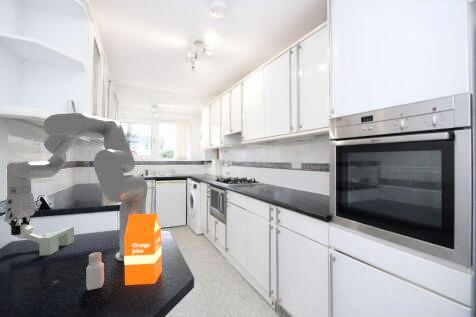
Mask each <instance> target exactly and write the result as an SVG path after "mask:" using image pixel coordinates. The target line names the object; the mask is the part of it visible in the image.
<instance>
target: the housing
mask: <svg viewBox="0 0 476 317" xmlns="http://www.w3.org/2000/svg"><path fill="white" fill-rule="evenodd" d="M49 233H50V234H48V235H46V236H44V235H42V237H41V238H39V243H38V244H39V246H38V248H39V256H52V254H55V253H56V252H58V251H59V250H60V249H59V247H64V246H69V245H71V244H73V243H75V227H74V226H65V227H62V228H60V229H58V230H55V231H54V232H49Z"/></svg>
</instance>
